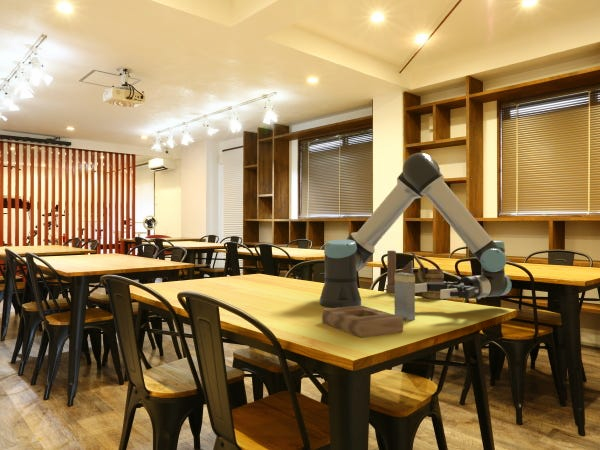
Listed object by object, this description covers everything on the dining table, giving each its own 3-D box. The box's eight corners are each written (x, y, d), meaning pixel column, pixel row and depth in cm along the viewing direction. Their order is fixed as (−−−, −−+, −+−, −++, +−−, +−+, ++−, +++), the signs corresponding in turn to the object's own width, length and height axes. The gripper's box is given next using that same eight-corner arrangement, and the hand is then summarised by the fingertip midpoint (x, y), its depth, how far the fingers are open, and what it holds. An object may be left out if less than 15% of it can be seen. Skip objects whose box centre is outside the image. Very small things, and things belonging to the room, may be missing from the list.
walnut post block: (322, 322, 137) (322, 309, 137) (361, 318, 143) (361, 305, 143) (360, 337, 119) (360, 322, 119) (403, 331, 125) (403, 317, 125)
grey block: (394, 317, 145) (394, 272, 145) (402, 316, 146) (402, 272, 146) (407, 320, 139) (407, 274, 139) (414, 319, 141) (415, 274, 141)
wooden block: (411, 294, 190) (411, 251, 190) (386, 293, 194) (386, 250, 194) (413, 293, 193) (413, 251, 193) (388, 291, 198) (388, 250, 198)
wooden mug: (412, 294, 190) (412, 251, 190) (446, 296, 186) (446, 252, 186) (410, 298, 182) (410, 252, 182) (446, 299, 177) (446, 253, 177)
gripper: (504, 303, 145) (455, 309, 135) (445, 293, 167) (400, 297, 157) (504, 280, 145) (455, 284, 135) (446, 272, 167) (400, 275, 157)
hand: (425, 291), depth 146 cm, fingers open, 13 cm apart
